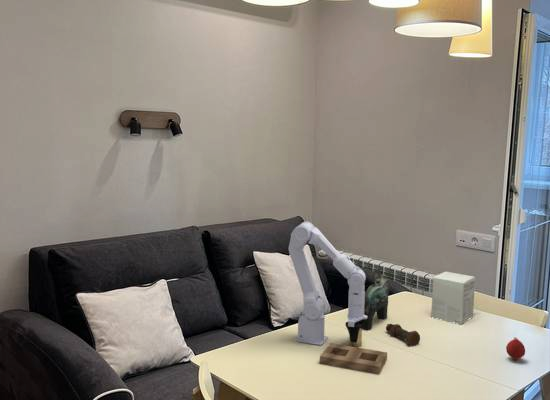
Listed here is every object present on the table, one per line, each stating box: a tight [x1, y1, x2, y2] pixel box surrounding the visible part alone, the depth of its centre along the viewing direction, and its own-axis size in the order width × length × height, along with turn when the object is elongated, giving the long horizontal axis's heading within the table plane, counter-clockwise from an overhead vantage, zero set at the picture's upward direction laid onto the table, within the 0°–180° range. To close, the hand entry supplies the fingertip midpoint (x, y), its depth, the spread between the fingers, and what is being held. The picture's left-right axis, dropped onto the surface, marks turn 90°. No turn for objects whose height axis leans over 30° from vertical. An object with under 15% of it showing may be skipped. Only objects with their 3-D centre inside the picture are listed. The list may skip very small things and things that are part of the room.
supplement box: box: [430, 271, 476, 325], centre depth 217 cm, size 13×13×18 cm
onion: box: [505, 336, 526, 361], centre depth 176 cm, size 6×6×8 cm
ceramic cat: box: [362, 273, 391, 331], centre depth 210 cm, size 20×6×20 cm, turn 144°
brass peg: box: [348, 328, 363, 348], centre depth 189 cm, size 4×4×6 cm
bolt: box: [385, 323, 421, 347], centre depth 195 cm, size 6×5×15 cm
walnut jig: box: [319, 342, 388, 375], centre depth 175 cm, size 20×12×2 cm, turn 67°
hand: (355, 339), depth 189 cm, fingers closed on brass peg, 4 cm apart
